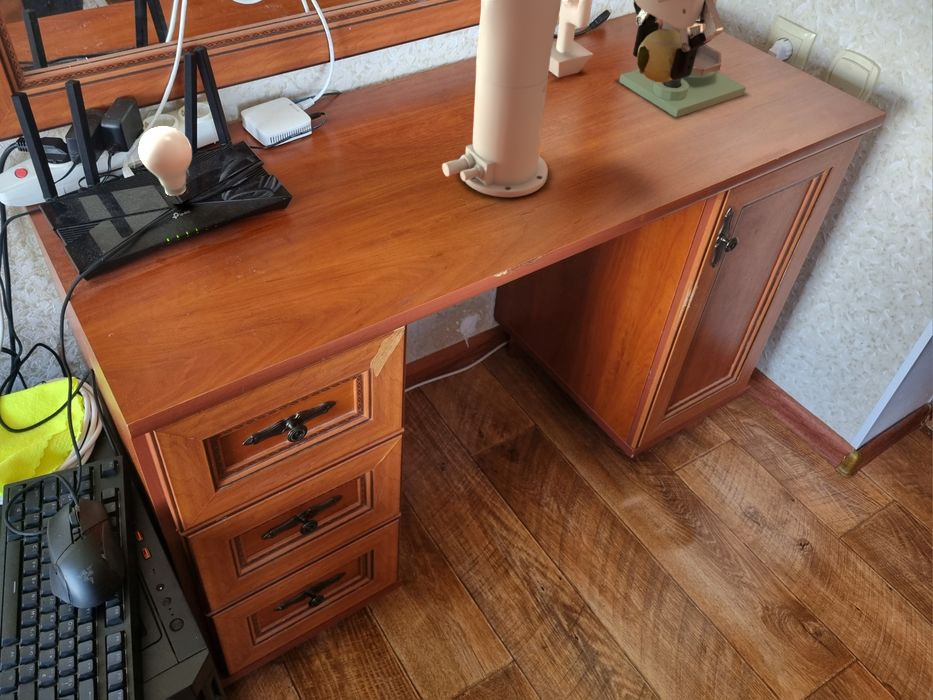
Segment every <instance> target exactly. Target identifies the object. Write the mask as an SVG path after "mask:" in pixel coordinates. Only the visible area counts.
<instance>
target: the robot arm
mask: <svg viewBox="0 0 933 700" xmlns="http://www.w3.org/2000/svg"><path fill="white" fill-rule="evenodd" d="M717 3H718V0H633V8H634V11H635V14H636V17H635V24H636V25H637V26H638V27H637V32H636V37H635V41H634V46H633V52H632V55H633V56H634V57H635V58H637V55H638V49H639V46H640V45H641V42H643V41H644V39H645V38H646V37H647V36H648V35H649V34H651V33H652V32H654V31H657V30H659V29H660V23H659V22H657V21H658V20H660V21H661V22H662V23H663V22H665V23H667V24H669V25H671V26H673V27H675V28H677V29H680V39H681V48H679V49H677V50H676V53H675V57H674V62H673V66H672V70H671V74H670V77H671V79H673V80H677V79H680V78H684V77H687V76H689V75H690V74H691V72H692V69H693V65H694V61H695V57H696V53H697V50H698V48H701V47H703V45H704V44H706V45H707V44H708V43H709V42H711V41H712V40H713V39H714V38H716V37H717V36H719V35H721V34H722V33H723V32H724V26H723V23H722V20H721V18H720V14H719V12H718V9H717ZM560 7H561V0H480V15H479V25H478V35H477V44H476V46H477V47H476V61H475V86H474V108H473V125H472V126H473V127H472V144H468V145H466V146H465V154H462V155H461V156H460V158H458V159H452V160H449V161H446V162H443V163H442V164H441V170H442V172H443V174H444V175H445V177H451V176H454V175H457V174H459V177H460V179H461V181H462V182H465V183H466V185H468V186H469V187H470V188H471V189H473V190H476V191H477V192H479V193H481V194H484V195H488V196H492V197H498V198H515V197H516V198H518V197H522V196H523V197H524V196H528V195H530V194H532V193H534V192H535V193H536V191H539V189H541V188H542V187H543V186H544V185H545V183H546V182H547V180H548V174H549V173H548V171H549V169H548V165H547V163H546V162H545V161H546V160H544V159H543V158H542V156H540V149H541V140H542V133H543V125H544V115H545V108H546V99H547V92H548V83H549V76H550V75H549V74H550V73H549V72H550V71H549V65H550V57H551V50H552V43H553V41H554V36H555V34H556V33H555V32H556V29H557V26H556V24H557V20H558V16H559V12H560ZM704 24H705V28H704ZM690 28H693V33H692V35H693V36H692V37H691V35H690Z"/></svg>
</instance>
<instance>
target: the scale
mask: <svg viewBox="0 0 933 700" xmlns="http://www.w3.org/2000/svg"><path fill="white" fill-rule="evenodd" d="M639 71H640V69H639V68H638V69H634V70H631V71H627V72H625V73H621V74H620V76H619V80H618V82H619V83H620V84H621V85H623V86H625V87H626V88H628V89H630V90H631V91H633V92H634V93H636V94H637V95H639V96H641V97H642V98H644V99H645V100H646V101H649V102H650V103H652V104H653V105H655V106H657V107H658V108H660V109H661V110H663V111H664V112H666V113H668V114H669V115H671V116H673V117H674V118H679V117H682V116H685V115H688V114H691V113H693V112H697V111H699V110H702V109H706V108H708V107H712V106H715V105H717V104H721V103H723V102H726V101H729V100H731V99H735V98H738V97H740V96H744V95H745V92H746V88H747V86H745V85H743V84H741V83H740V82H738V81H736V80H734V79H732V78H730V77H729V76H727V75H725V74H723V73H722V72H720V71H719V70H718V71H717V72H716V73H715V74H714V75H712V76H709V77H704V78H689V77H684V78H681V82H680V86H679V87H678V88H670V87H666V86H665V85H664V83H663V82H659V83H658V82H655V81H652V80H650V79H648V78H647V77H646V76H645V75H644V74H640V72H639Z"/></svg>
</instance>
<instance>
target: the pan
mask: <svg viewBox="0 0 933 700" xmlns="http://www.w3.org/2000/svg"><path fill="white" fill-rule="evenodd" d="M721 67H722V52H720V51H718V50H717V49H714V48H713V47H711V46H709V45H708V44H707V43H706V44H704V45H703V47H701V48H698V50H697V53H696V57H695V61H694V65H693V69H692V72H691V74H690V75H689V76H687V77H689V78H704V77H709V76H712V75H714V74H715V73H716V72H717V71H718V72H719V71H720V70H721Z"/></svg>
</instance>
